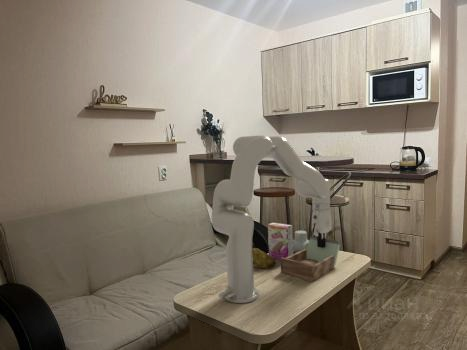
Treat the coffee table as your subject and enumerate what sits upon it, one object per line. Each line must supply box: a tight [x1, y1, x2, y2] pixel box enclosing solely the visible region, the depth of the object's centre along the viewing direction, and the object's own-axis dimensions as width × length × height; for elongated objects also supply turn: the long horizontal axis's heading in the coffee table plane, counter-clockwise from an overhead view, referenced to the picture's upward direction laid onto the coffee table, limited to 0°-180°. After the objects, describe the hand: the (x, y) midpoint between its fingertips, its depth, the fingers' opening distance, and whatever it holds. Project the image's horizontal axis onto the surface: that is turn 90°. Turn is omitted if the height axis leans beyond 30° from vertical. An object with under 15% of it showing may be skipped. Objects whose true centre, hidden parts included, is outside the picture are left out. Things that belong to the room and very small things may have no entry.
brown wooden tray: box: [279, 249, 335, 283], centre depth 147 cm, size 18×15×6 cm
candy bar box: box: [267, 222, 294, 261], centre depth 162 cm, size 11×5×16 cm, turn 50°
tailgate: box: [307, 235, 341, 266], centre depth 155 cm, size 1×15×10 cm, turn 46°
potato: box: [252, 247, 276, 269], centre depth 154 cm, size 8×13×8 cm, turn 50°
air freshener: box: [293, 230, 310, 253], centre depth 171 cm, size 11×8×10 cm
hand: (321, 247), depth 154 cm, fingers closed
